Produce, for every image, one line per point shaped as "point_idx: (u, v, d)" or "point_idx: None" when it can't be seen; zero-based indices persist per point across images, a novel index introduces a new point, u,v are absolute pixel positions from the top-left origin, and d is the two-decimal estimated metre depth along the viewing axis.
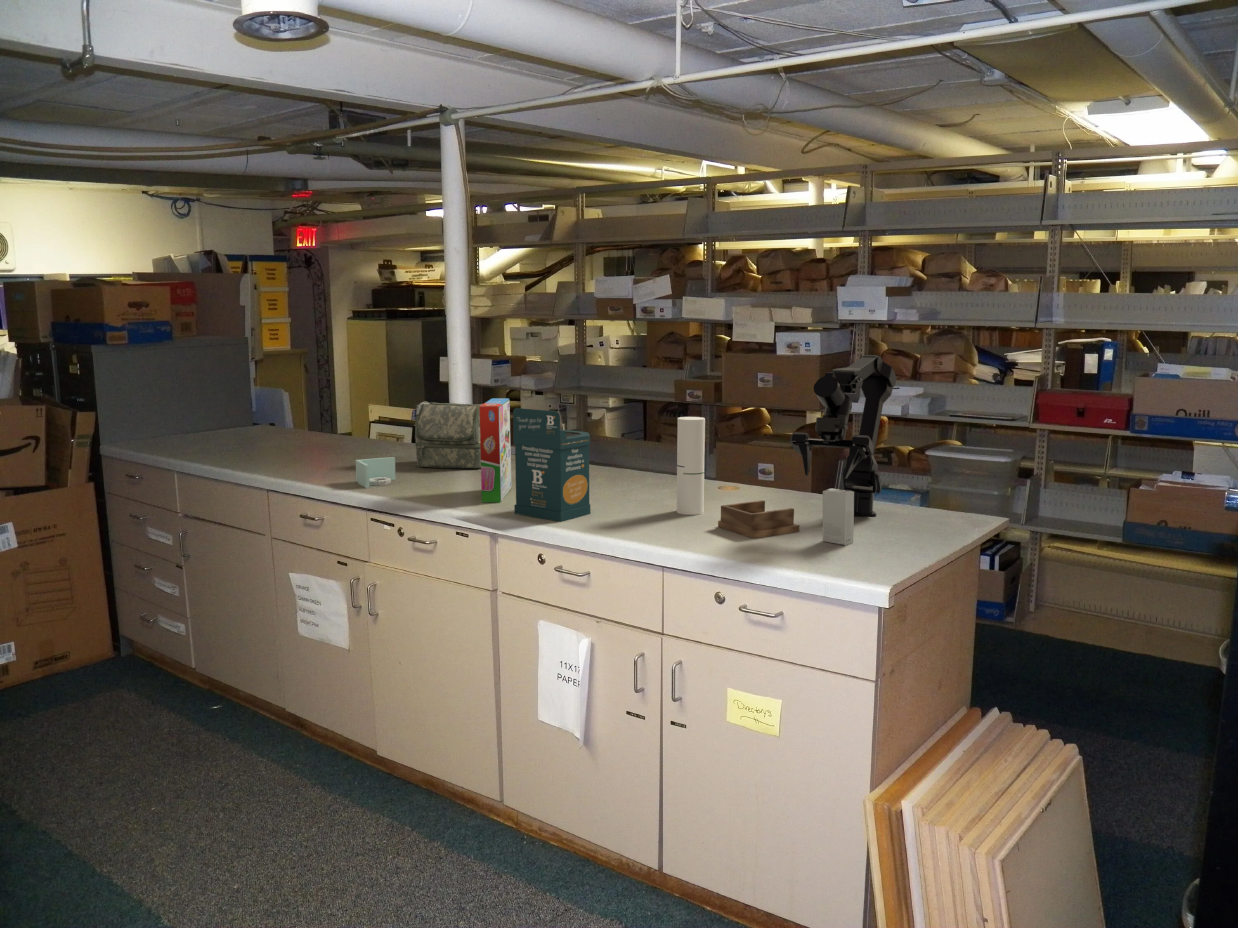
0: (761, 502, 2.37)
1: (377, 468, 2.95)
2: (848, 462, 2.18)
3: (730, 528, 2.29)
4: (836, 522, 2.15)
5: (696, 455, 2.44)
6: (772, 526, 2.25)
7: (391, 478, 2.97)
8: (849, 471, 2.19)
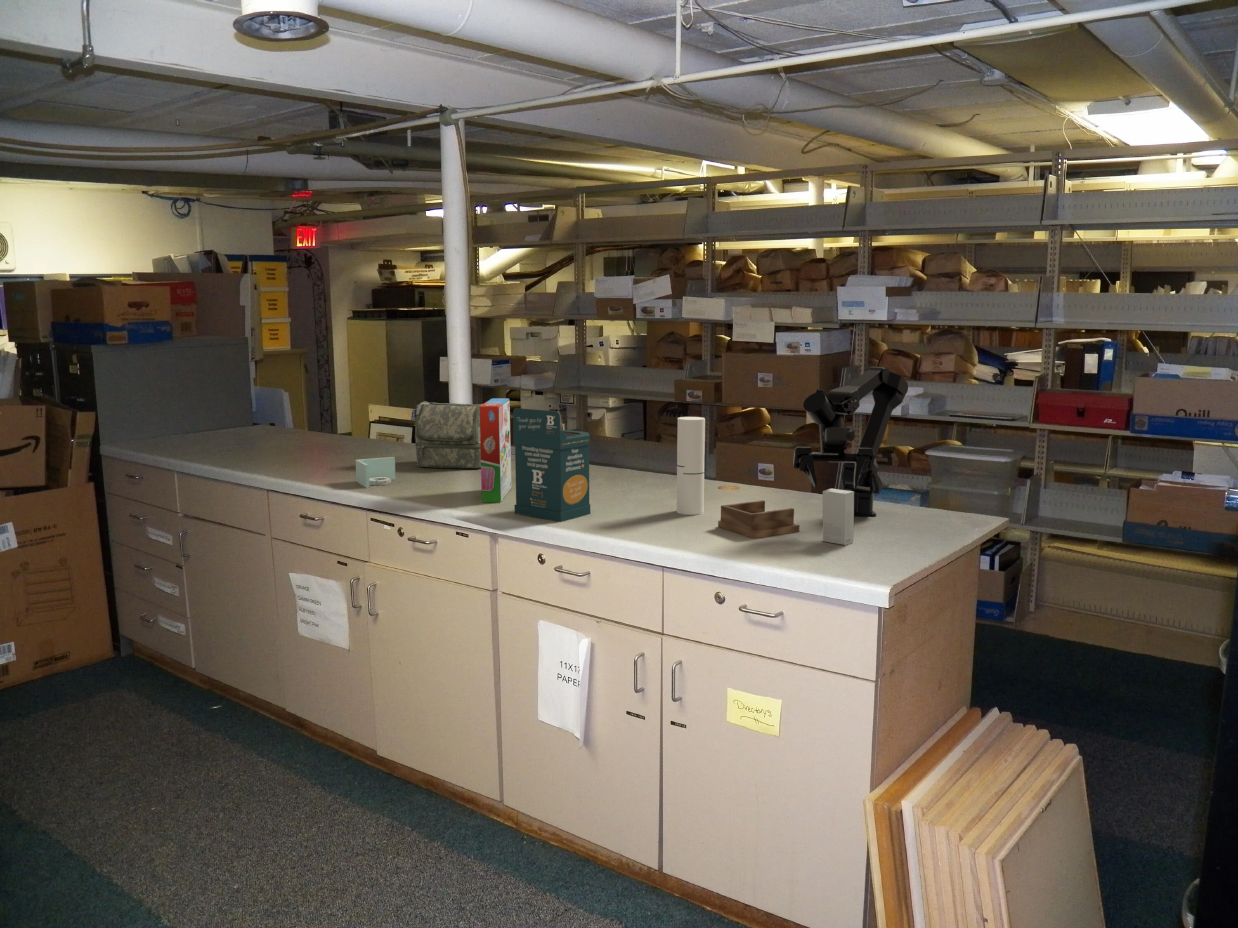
0: (761, 502, 2.37)
1: (377, 468, 2.95)
2: (857, 472, 2.22)
3: (730, 528, 2.29)
4: (836, 522, 2.15)
5: (696, 455, 2.44)
6: (772, 526, 2.25)
7: (391, 478, 2.97)
8: (858, 481, 2.22)
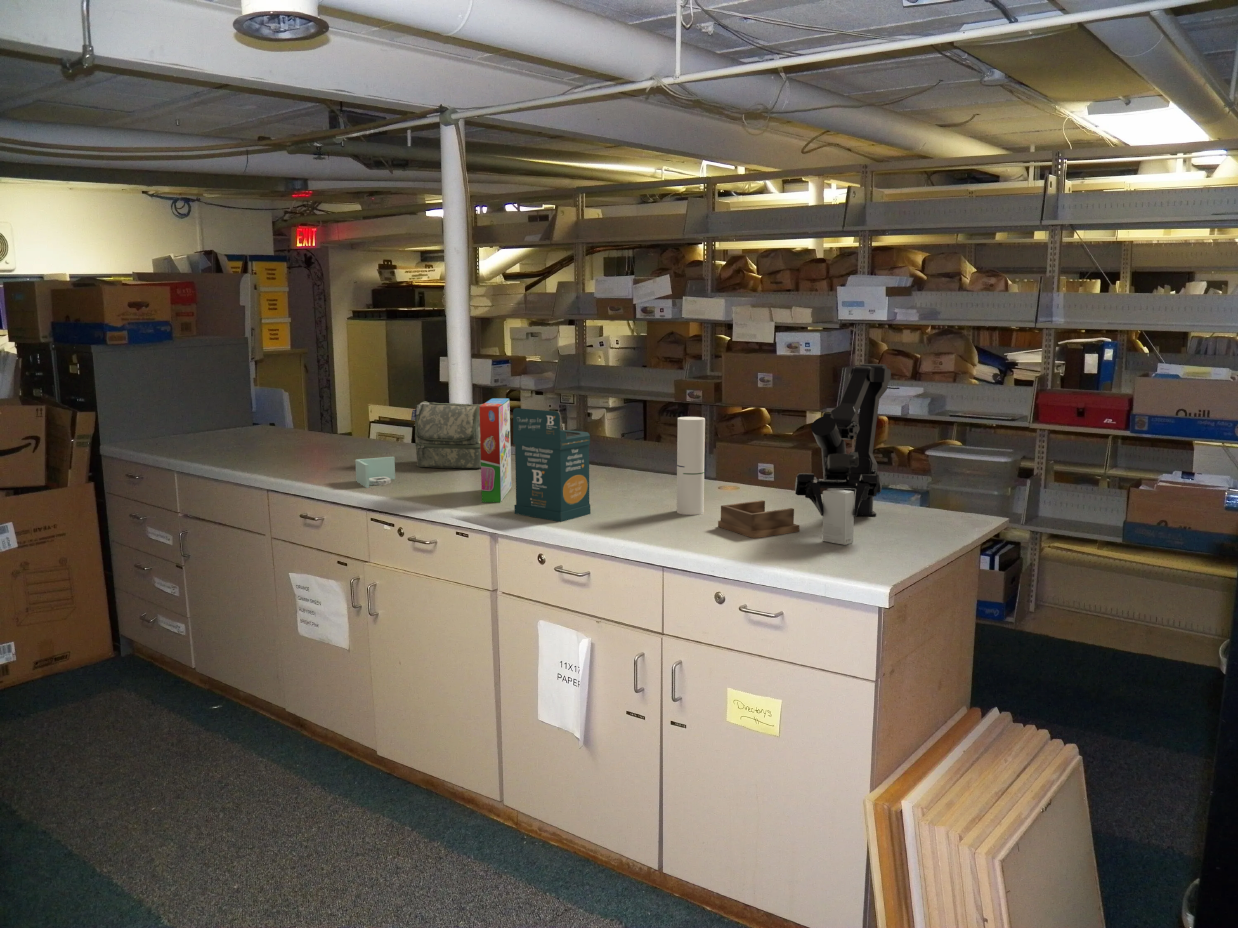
0: (761, 502, 2.37)
1: (377, 468, 2.95)
2: (856, 500, 2.16)
3: (730, 528, 2.29)
4: (836, 521, 2.15)
5: (696, 455, 2.44)
6: (772, 526, 2.25)
7: (391, 478, 2.98)
8: (857, 509, 2.16)
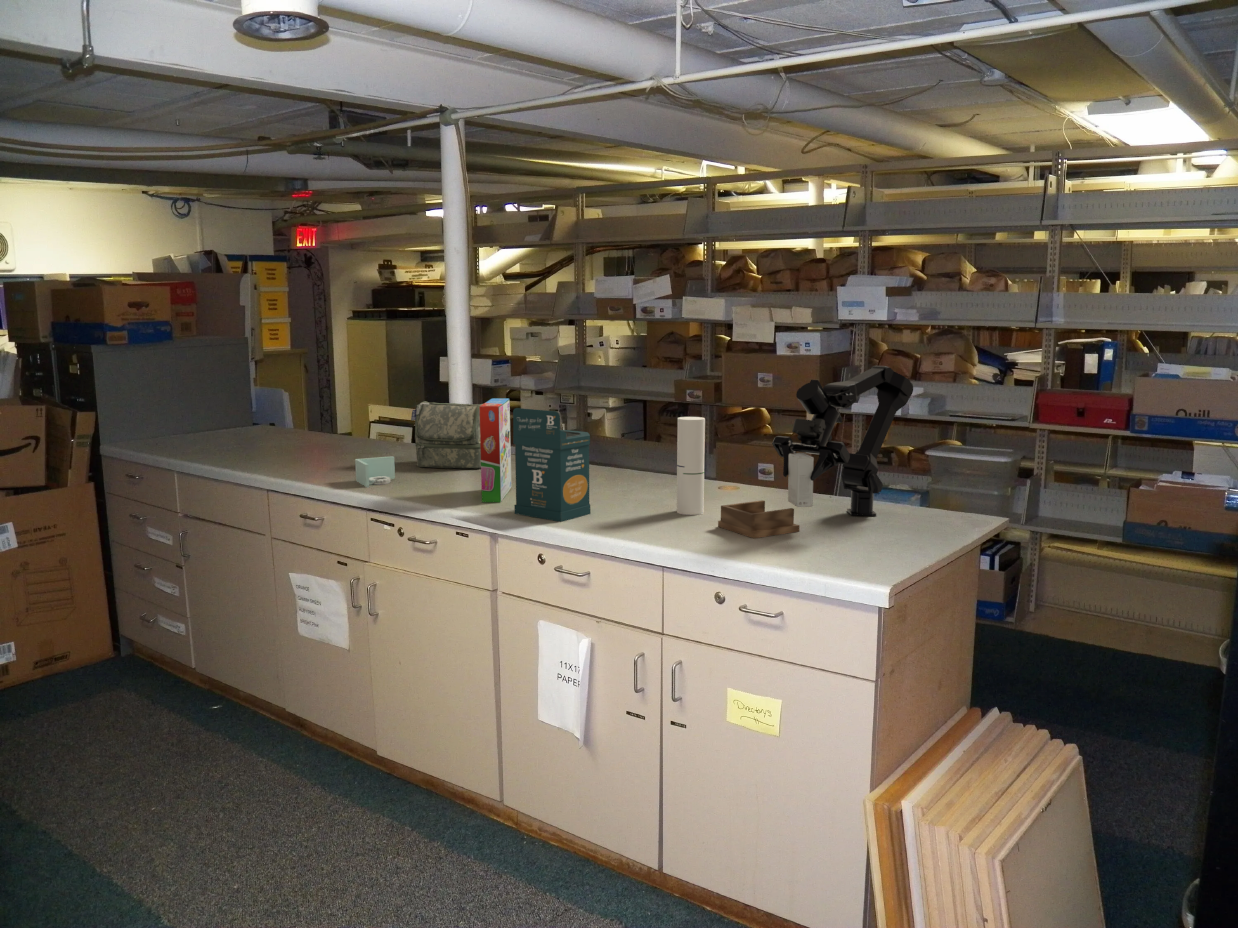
0: (761, 502, 2.37)
1: (377, 468, 2.96)
2: (816, 465, 2.24)
3: (730, 528, 2.29)
4: (793, 484, 2.26)
5: (696, 455, 2.44)
6: (772, 526, 2.25)
7: (390, 477, 2.99)
8: (816, 474, 2.24)
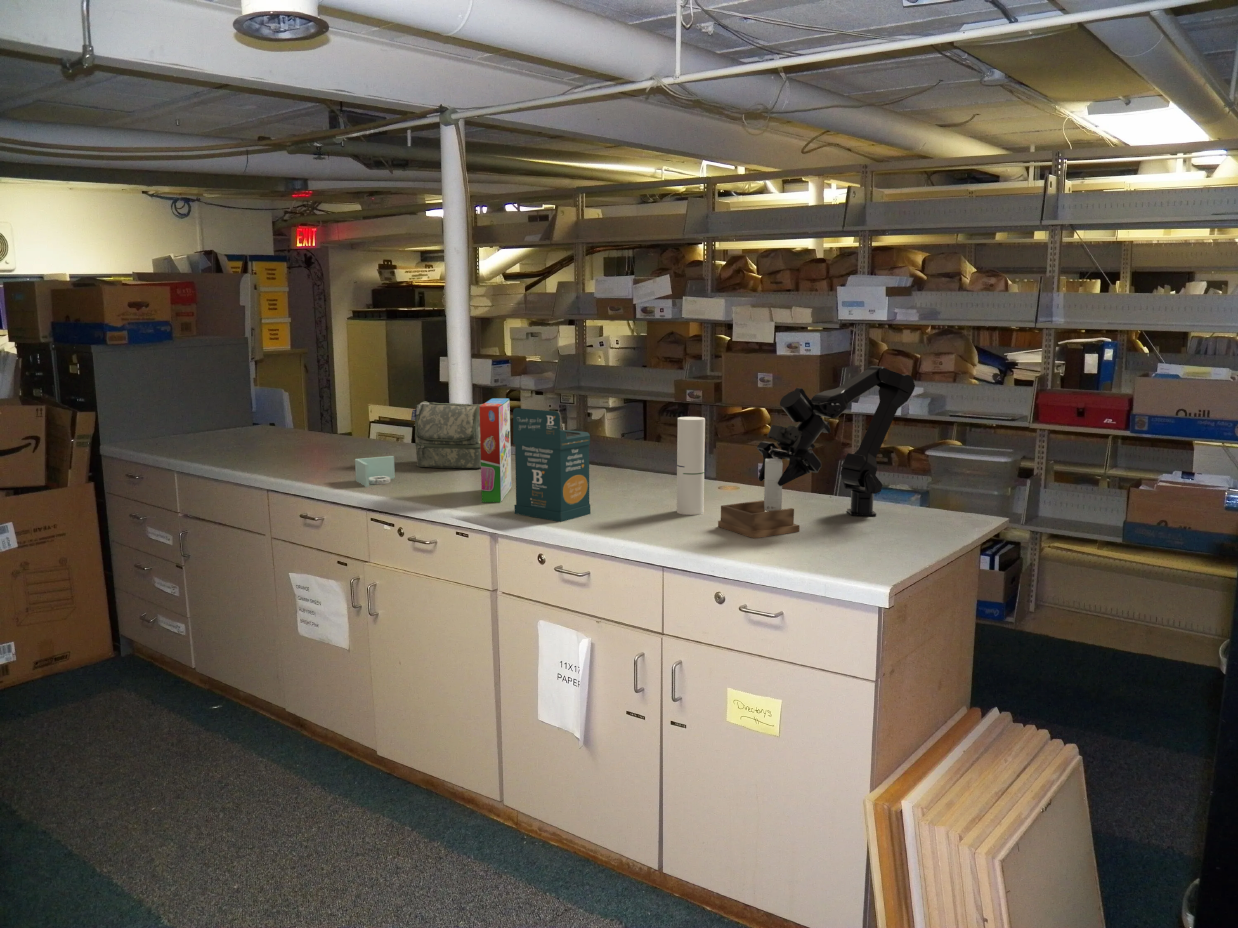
0: (761, 502, 2.37)
1: (377, 467, 2.96)
2: (785, 471, 2.27)
3: (730, 528, 2.29)
4: None
5: (696, 455, 2.44)
6: (772, 526, 2.25)
7: (390, 477, 2.99)
8: (785, 480, 2.27)
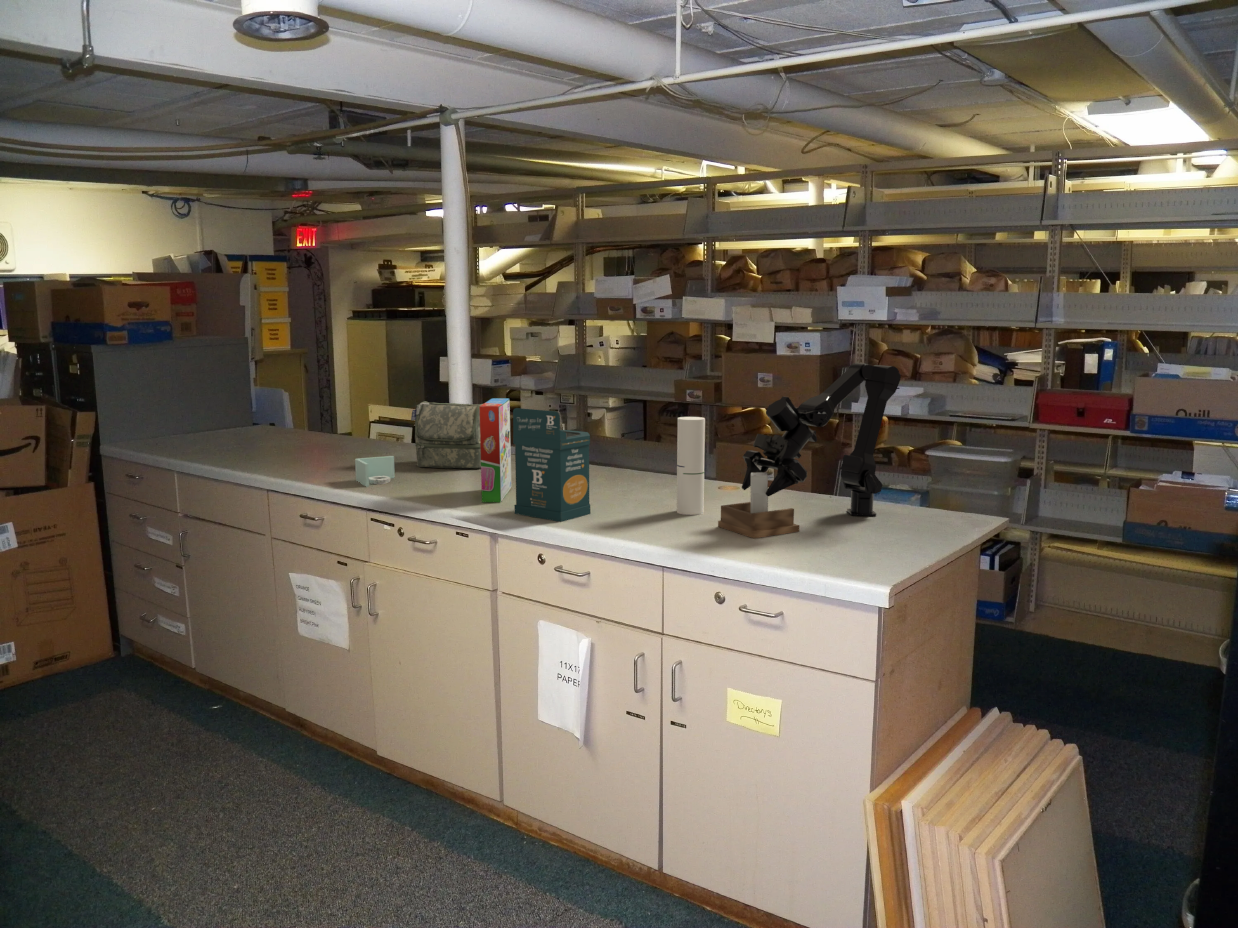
0: None
1: (377, 467, 2.97)
2: (773, 481, 2.24)
3: (730, 528, 2.29)
4: None
5: (696, 455, 2.44)
6: (772, 526, 2.25)
7: (390, 477, 2.99)
8: (773, 490, 2.24)
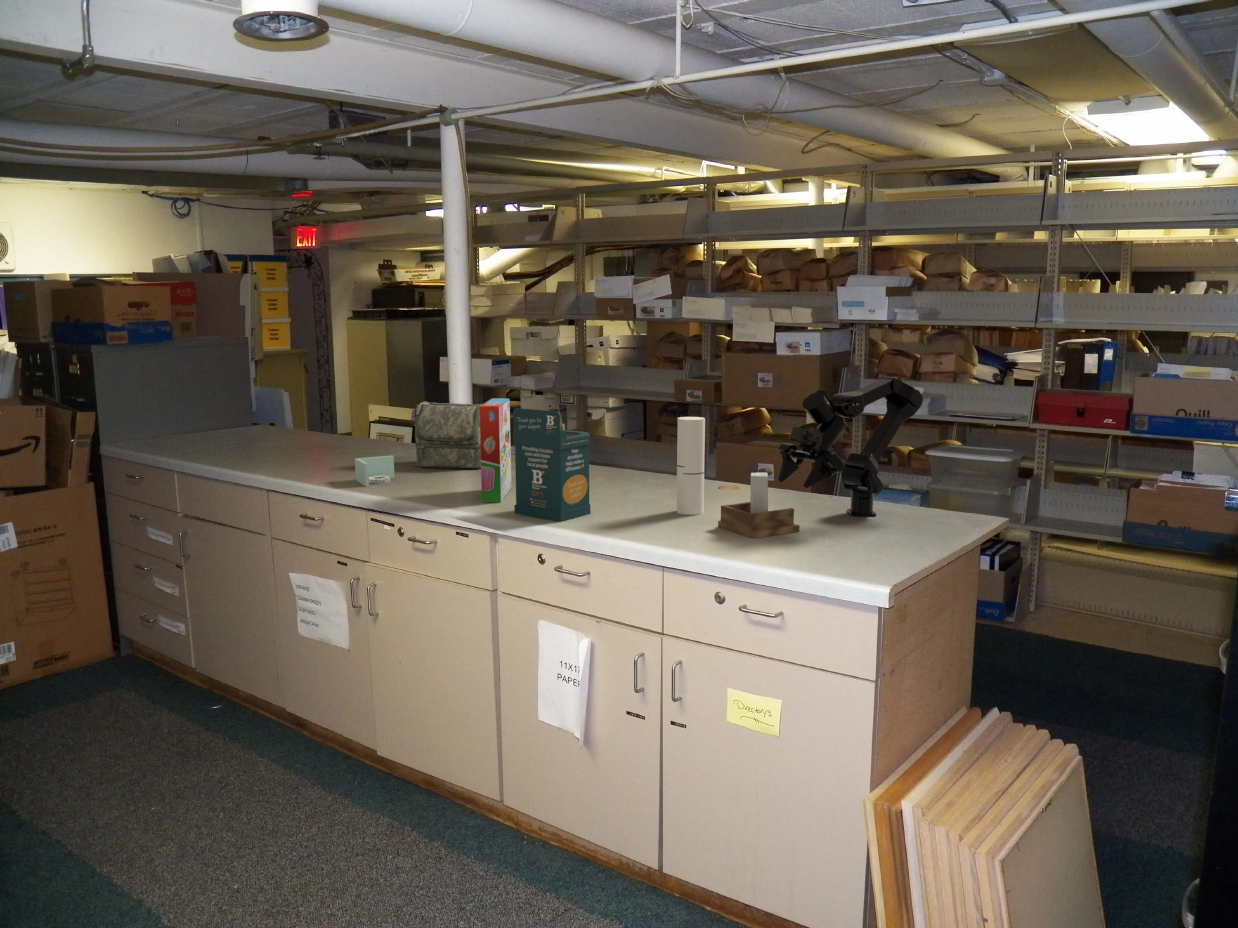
0: None
1: (376, 467, 2.97)
2: (810, 473, 2.28)
3: (730, 528, 2.29)
4: None
5: (696, 455, 2.44)
6: (772, 526, 2.25)
7: (390, 476, 3.00)
8: (810, 482, 2.28)
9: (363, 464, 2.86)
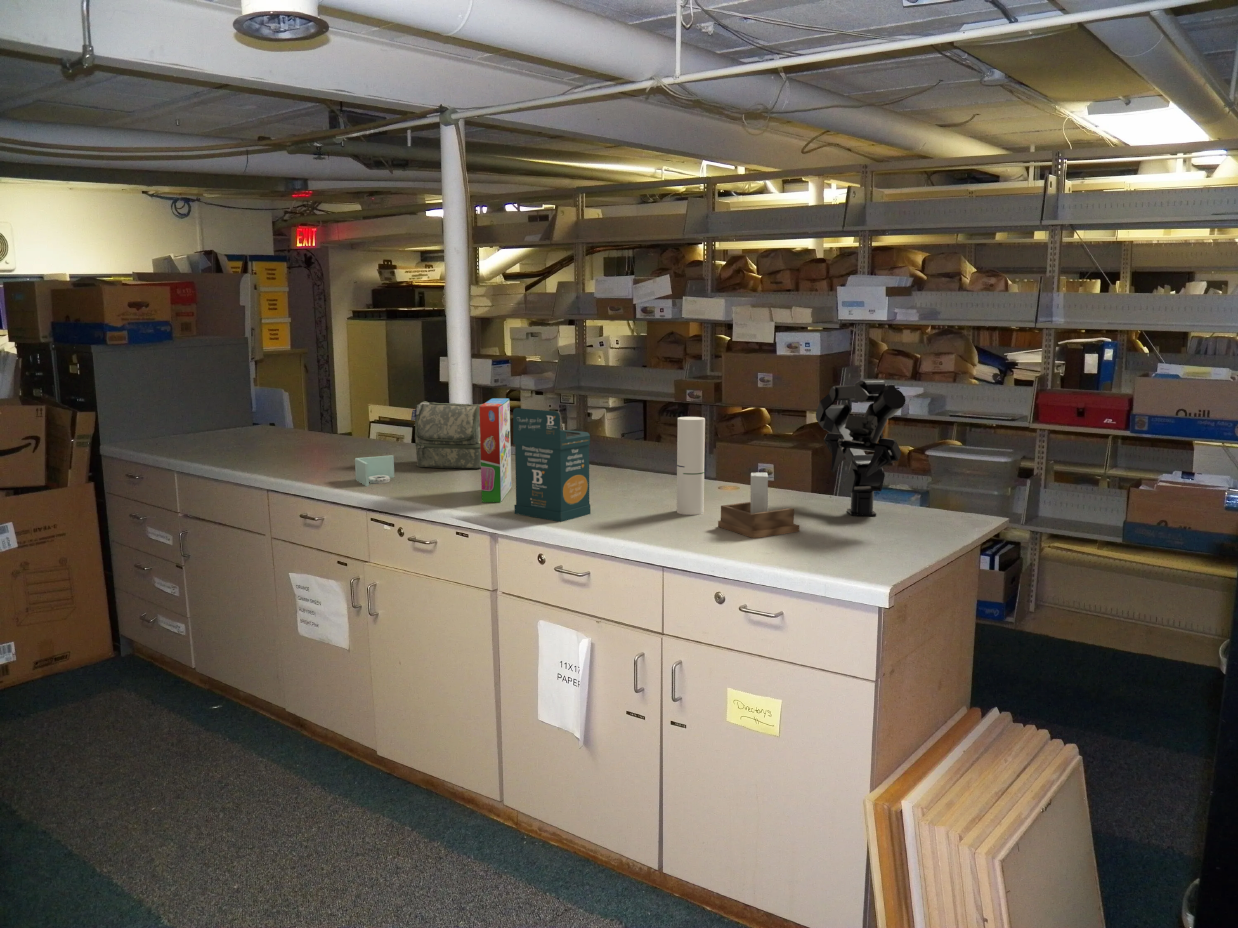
0: None
1: (376, 467, 2.98)
2: (871, 461, 2.27)
3: (730, 528, 2.29)
4: None
5: (696, 455, 2.44)
6: (772, 526, 2.25)
7: (390, 476, 3.00)
8: (871, 470, 2.27)
9: (363, 464, 2.86)
